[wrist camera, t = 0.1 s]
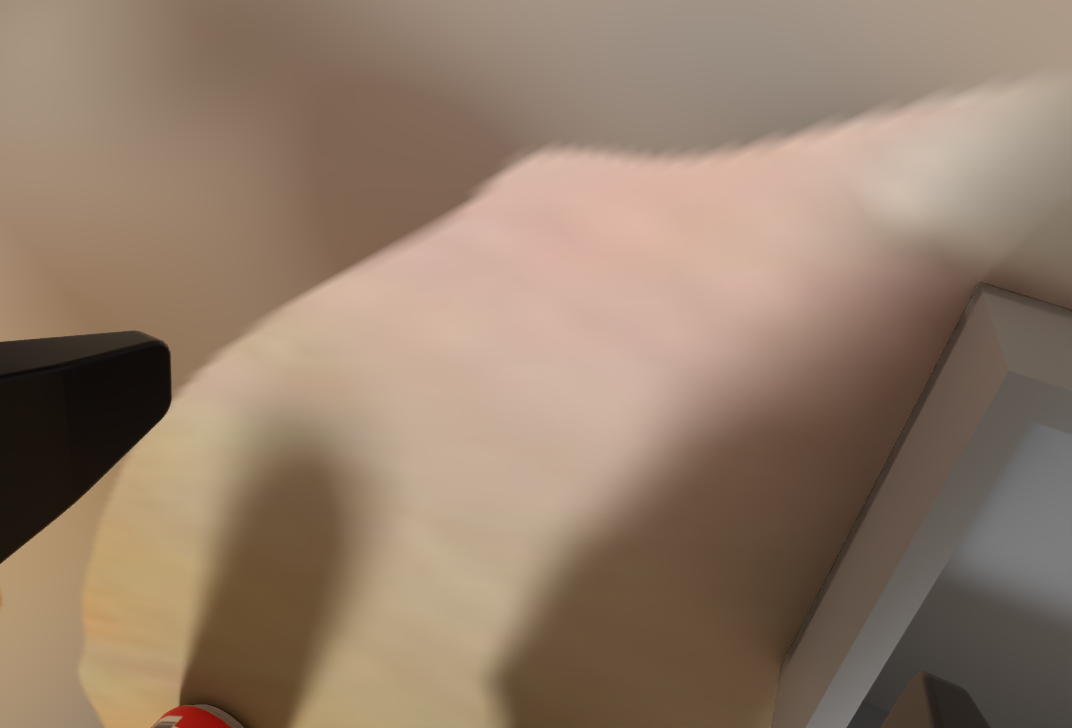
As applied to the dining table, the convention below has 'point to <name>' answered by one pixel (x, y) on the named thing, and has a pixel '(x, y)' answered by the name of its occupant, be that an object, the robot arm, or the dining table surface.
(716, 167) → the dining table surface
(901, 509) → the grey open box
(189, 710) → the beer can
